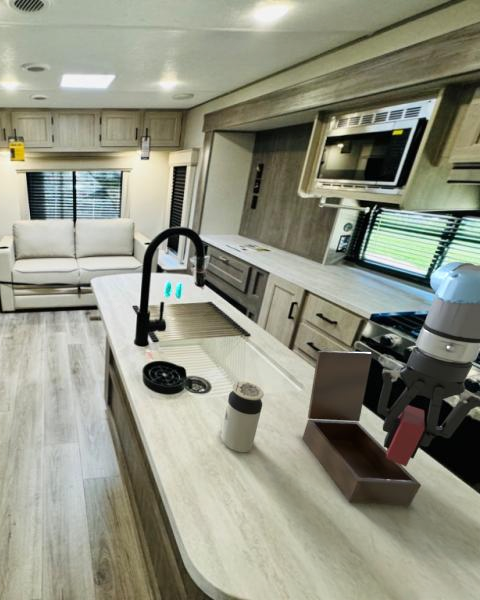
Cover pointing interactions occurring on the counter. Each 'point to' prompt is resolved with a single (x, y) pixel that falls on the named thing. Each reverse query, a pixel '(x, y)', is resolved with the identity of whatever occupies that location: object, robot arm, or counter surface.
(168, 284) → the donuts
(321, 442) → the chest
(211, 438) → the counter surface
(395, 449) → the red rectangular brick
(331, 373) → the lid
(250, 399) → the travel mug
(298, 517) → the counter surface
